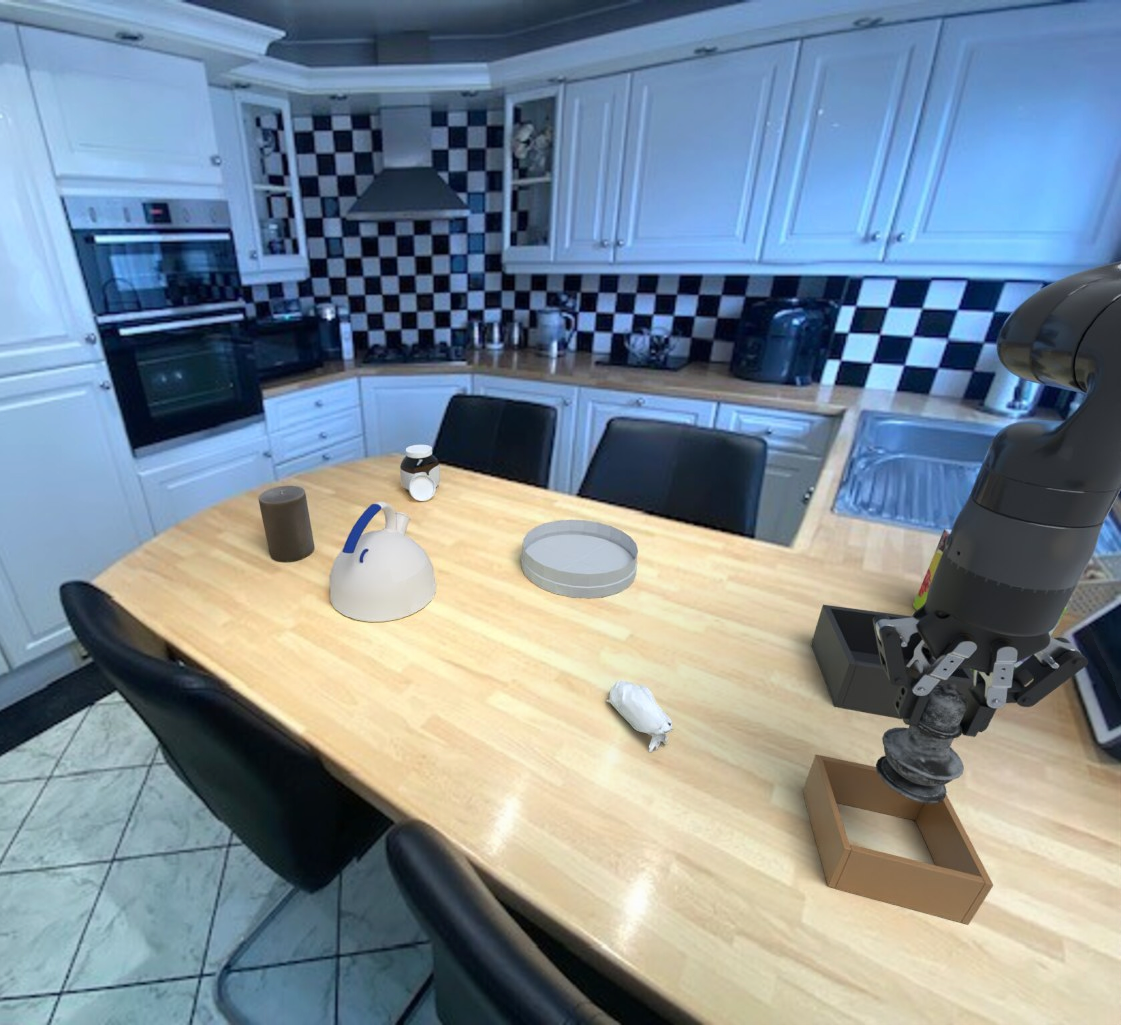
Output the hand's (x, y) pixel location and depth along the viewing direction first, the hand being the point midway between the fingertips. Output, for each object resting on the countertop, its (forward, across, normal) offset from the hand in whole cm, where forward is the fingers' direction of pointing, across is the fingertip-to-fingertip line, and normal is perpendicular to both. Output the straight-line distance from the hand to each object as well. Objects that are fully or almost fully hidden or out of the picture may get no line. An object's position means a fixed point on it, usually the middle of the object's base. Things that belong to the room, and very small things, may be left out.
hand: (935, 723), depth 50 cm
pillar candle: (+18, -96, +40) cm, 106 cm away
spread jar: (+18, -79, +76) cm, 111 cm away
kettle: (+18, -70, +31) cm, 79 cm away
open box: (+18, +8, +28) cm, 34 cm away
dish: (+18, -36, +49) cm, 63 cm away
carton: (+18, 0, 0) cm, 18 cm away
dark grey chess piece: (+7, 0, 0) cm, 7 cm away
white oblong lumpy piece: (+18, -24, +11) cm, 32 cm away
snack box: (+18, +22, +40) cm, 49 cm away
